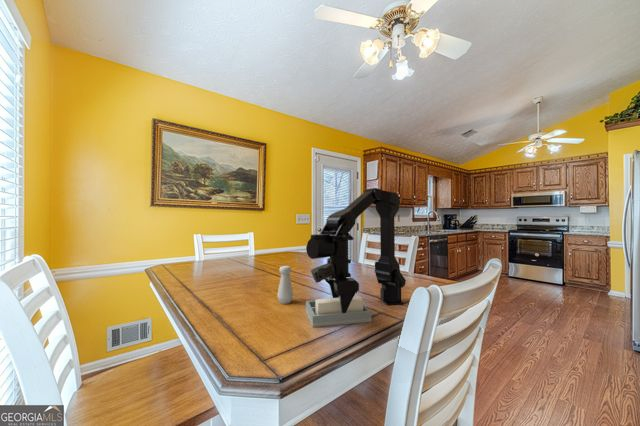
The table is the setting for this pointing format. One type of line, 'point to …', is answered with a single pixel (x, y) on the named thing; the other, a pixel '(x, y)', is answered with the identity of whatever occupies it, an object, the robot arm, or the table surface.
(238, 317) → the table surface
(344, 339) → the table surface
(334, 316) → the divided grey tray
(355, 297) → the cream rectangular block
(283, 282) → the salt shaker
